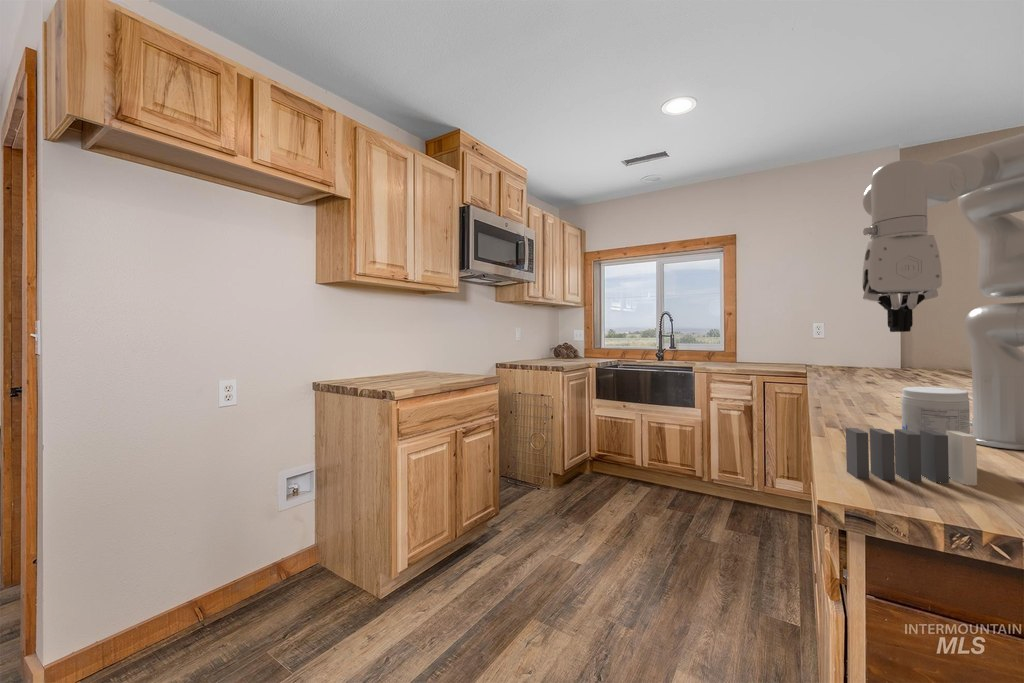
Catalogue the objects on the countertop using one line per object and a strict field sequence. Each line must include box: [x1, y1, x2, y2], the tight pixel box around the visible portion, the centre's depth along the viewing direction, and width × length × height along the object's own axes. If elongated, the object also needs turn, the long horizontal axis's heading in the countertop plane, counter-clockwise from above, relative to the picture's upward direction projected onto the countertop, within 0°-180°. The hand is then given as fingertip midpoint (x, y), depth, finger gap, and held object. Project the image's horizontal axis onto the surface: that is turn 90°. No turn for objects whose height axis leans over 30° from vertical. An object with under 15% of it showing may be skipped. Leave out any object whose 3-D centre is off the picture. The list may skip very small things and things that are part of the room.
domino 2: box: [869, 428, 896, 482], centre depth 77 cm, size 4×2×8 cm, turn 163°
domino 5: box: [946, 431, 978, 486], centre depth 74 cm, size 4×2×8 cm, turn 163°
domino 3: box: [893, 428, 922, 483], centre depth 76 cm, size 4×2×8 cm, turn 163°
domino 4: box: [920, 430, 950, 484], centre depth 75 cm, size 4×2×8 cm, turn 163°
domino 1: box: [845, 427, 870, 480], centre depth 78 cm, size 4×2×8 cm, turn 163°
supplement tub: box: [901, 386, 971, 435], centre depth 84 cm, size 10×10×15 cm
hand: (900, 331), depth 77 cm, fingers closed
